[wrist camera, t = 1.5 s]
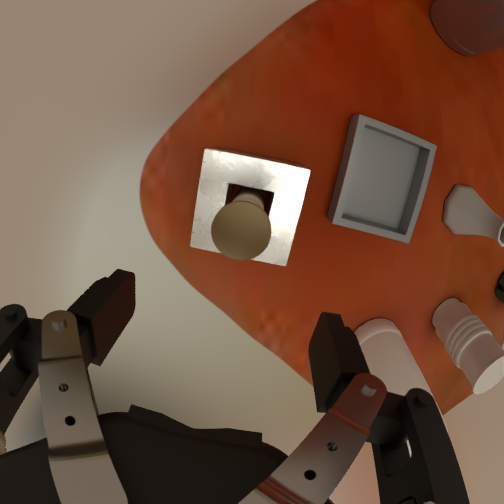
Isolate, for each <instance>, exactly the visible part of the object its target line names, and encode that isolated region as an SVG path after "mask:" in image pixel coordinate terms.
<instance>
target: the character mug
mask: <svg viewBox="0 0 504 504" xmlns="http://www.w3.org/2000/svg"><path fill="white" fill-rule="evenodd" d="M499 284H500V285H501V286H502V287H501V290H499V289H498V288H497V289H496V296H497V298H498V299H499V300H500V301H501V302H503V303H504V274H503V275H502V277H501V279H500V280H499Z"/></svg>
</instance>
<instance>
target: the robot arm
mask: <svg viewBox="0 0 504 504" xmlns="http://www.w3.org/2000/svg"><path fill="white" fill-rule="evenodd" d="M430 15H431V20H432V22H433V25H434V27H435V29H436V31H437V32H438V34H439V35H440V37H441V38H442V39H443V40H444V41H445V43H446V44H448V45H449V46H450V47H451V48H452V49H453V50H455V51H456V52H458V53H460V54H462V55H465V56H474V55H477V54H481V53H486V52H490V51H495V50H499V49H504V0H436V1H435V2H434V3H433V4H432V5H431V8H430ZM134 310H135V274H134V273H132V272H128V271H125V270H121V269H117V270H116V271H115V272H114V273H113V274H112V275H111V276H109V277H108V278H107V277H104V278H102V279H100V280H97V281H96V282H94V283H93V284H92V285H91V286H90V287H89V289H87V290H86V291H85V292H84V294H82V295H81V296H80V297H79V298H78V299H77V300H76V301H75V302H74V303H73V304H72V305H71V306H70V307H69V308H68V310H67V311H64V310H57V311H53V312H51V313H49V314H47V315H46V316H45V317H44V318H43V320H42V319H34V318H28V317H27V313H26V310H25V308H24V307H23V306H21V305H18V304H11V305H7V306H5V307H3V308H1V310H0V363H1V362H2V360H3V359H4V358H5V357H6V355H7V354H8V353H10V355H11V359H10V360H9V362H8V363H7V364H6V366H5V367H4V368H3V370H2V371H1V372H0V504H334V503H333V502H332V501H331V500H330V499H329V496H330V495H331V494H332V492H333V491H334V489H335V488H336V487H337V485H338V484H339V482H340V481H341V479H342V478H343V476H344V475H345V473H346V472H347V470H348V469H349V467H350V466H351V464H352V463H353V461H354V459H355V458H356V456H357V455H358V453H359V451H360V450H361V448H362V446H363V445H364V443H365V441H366V442H370V443H371V444H372V449H373V455H374V461H375V467H376V474H377V480H378V487H379V496H380V504H470V503H469V499H468V495H467V491H466V488H465V484H464V481H463V477H462V474H461V471H460V467H459V464H458V461H457V458H456V455H455V452H454V449H453V446H452V443H451V441H450V438H449V436H448V432H447V430H446V427H445V424H444V422H443V419H442V417H441V414H440V412H439V409H438V407H437V404H436V402H435V400H434V398H433V396H432V395H431V394H430V393H429V392H427V391H425V390H423V389H421V388H412V389H410V390H409V391H408V392H407V393H406V395H405V396H402V395H399V394H395V393H391V392H388V391H387V388H386V385H385V384H384V382H383V381H382V380H381V379H379V378H378V377H376V376H374V375H372V374H371V373H370V370H369V368H368V365H367V362H366V360H365V357H364V354H363V352H362V349H361V346H360V345H359V341H358V339H357V336H356V334H355V333H354V332H353V331H352V330H351V329H350V328H349V327H345V326H344V323H343V321H342V318H341V315H340V314H335V313H329V312H322V313H321V315H320V317H319V319H318V322H317V325H316V327H315V330H314V332H313V335H312V337H311V340H310V343H309V350H308V353H309V360H310V366H311V372H312V379H313V386H314V392H315V399H316V406H317V412H324V413H326V414H325V415H324V416H323V418H322V419H321V420H320V421H319V422H318V424H317V425H316V426H315V427H314V428H313V430H312V431H311V432H310V433H309V434H308V436H307V437H306V438H305V439H304V440H303V441H302V442H301V443H300V445H299V446H298V447H297V448H296V449H295V450H294V451H293V452H292V453H291V455H289V456H287V455H286V454H285V453H283V452H282V451H281V450H279V449H277V448H275V447H274V446H271V445H269V444H267V443H264V442H262V433H259V432H251V431H243V430H237V429H231V428H223V429H194V428H191V427H189V426H186V425H184V424H182V423H180V422H178V421H176V420H174V419H172V418H170V417H168V416H166V415H164V414H162V413H158V412H155V411H151V410H148V409H145V408H142V407H138V406H135V405H131V406H130V409H129V412H111V413H106V414H101V415H100V413H99V410H98V407H97V403H96V400H95V396H94V392H93V389H92V385H91V381H90V377H89V373H88V369H87V368H88V366H89V364H90V363H93V364H96V365H98V366H101V364H102V363H103V361H104V359H105V358H106V356H107V355H108V353H109V351H110V350H111V348H112V347H113V345H114V344H115V342H116V340H117V339H118V337H119V336H120V334H121V333H122V331H123V330H124V328H125V327H126V325H127V324H128V322H129V321H130V319H131V318H132V316H133V313H134ZM38 376H39V384H40V394H41V403H42V411H43V418H44V424H45V430H46V435H47V437H46V438H44V439H41V440H39V441H37V442H34V443H31V444H29V445H26V446H23V447H21V448H18V449H15V450H12V451H9V452H7V451H6V448H5V446H6V439H5V435H4V434H5V432H6V430H7V428H8V426H9V425H10V423H11V421H12V419H13V417H14V416H15V414H16V412H17V410H18V409H19V407H20V405H21V404H22V402H23V400H24V399H25V397H26V395H27V394H28V392H29V390H30V389H31V387H32V386H33V384H34V383H35V381H36V379H37V378H38ZM407 440H409V444H410V448H411V457H410V453H409V449H408V445H407V442H406V441H407Z"/></svg>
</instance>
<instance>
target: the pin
mask: <svg viewBox="0 0 504 504" xmlns="http://www.w3.org/2000/svg"><path fill="white" fill-rule="evenodd" d="M211 237H212V240H213V243H214V245H215V246H216V248H217V249H218V250H219V251H220V252H221V253H222V254H224V255H225V256H227V257H229V258H231V259H235V260H249V259H252V258H255V257H257V256H258V255H260V254H261V253H262V252H263V251H264V250H265V249H266V248H267V246H268V244H269V242H270V239H271V223H270V220H269V217H268V216H267V214H266V212H265V211H264V194H263V192H262V191H261V189H257V188H253V187H248V186H243V187H242V188H241V189H239V191H238V192H237V194H236V196H235V198H234V200H233V201H232V202H230V203H228V204H226V205H225V206H223V207H222V208H221V209H220V210H219V211H218V213H217V214H216V216H215V217H214V219H213V222H212V225H211Z"/></svg>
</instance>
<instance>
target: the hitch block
mask: <svg viewBox="0 0 504 504" xmlns="http://www.w3.org/2000/svg"><path fill="white" fill-rule="evenodd" d="M309 174H310V170H309V169H308V168H306V167H305V166H303V165H299V164H294V163H290V162H286V161H281V160H277V159H272V158H268V157H263V156H258V155H253V154H248V153H243V152H238V151H232V150H226V149H221V148H215V147H214V148H208V149H205V151H204V157H203V163H202V169H201V175H200V181H199V187H198V193H197V200H196V207H195V214H194V221H193V228H192V236H191V243H190V247H194V248H199V249H203V250H208V251H213V252H218V253H221V252H220V251H219V250H218V249H217V248H216V246H215V245H214V243H213V240H212V237H211V225H212V222H213V219H214V217H215V216H216V214H217V213H218V211H219V210H220V209H221V208H222V207H223V206H225V205H226V204H228V203H230V197H231V192H232V187H233V184H238V185H243V186H248V187H253V188H257V189H262V190H267V191H272V193H271V198H270V202H269V206H268V211H267V216H268V217H269V220H270V223H271V239H270V242H269V244H268V246H267V248H266V249H265V250H264V251H263V252H262V253H261V254H260V255H258V256H257V257H255V258H252V260H257V261H262V262H267V263H272V264H276V265H281V266H286V264H287V260H288V256H289V252H290V249H291V245H292V241H293V238H294V234H295V230H296V226H297V222H298V218H299V215H300V211H301V207H302V203H303V199H304V195H305V191H306V187H307V183H308V179H309Z"/></svg>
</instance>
